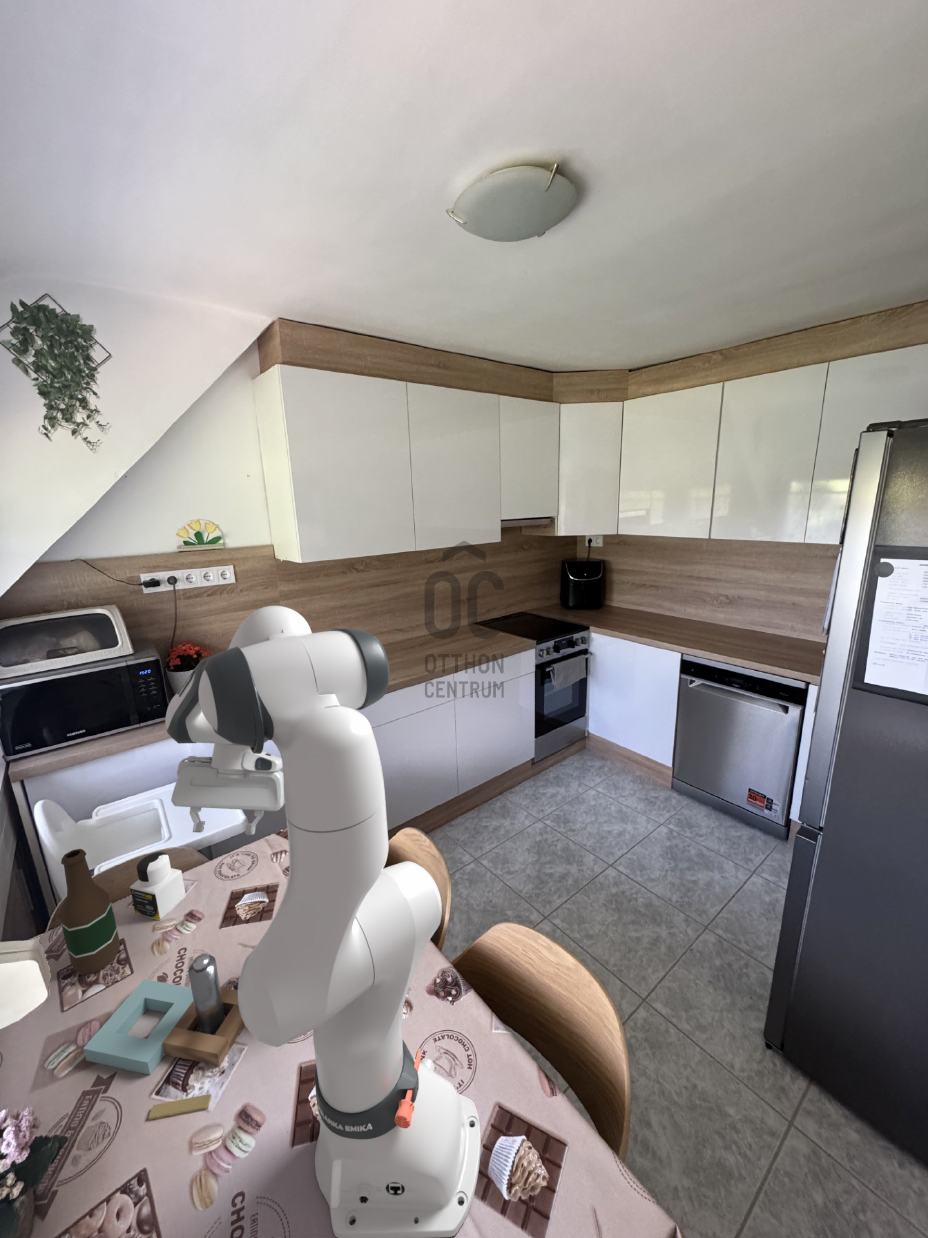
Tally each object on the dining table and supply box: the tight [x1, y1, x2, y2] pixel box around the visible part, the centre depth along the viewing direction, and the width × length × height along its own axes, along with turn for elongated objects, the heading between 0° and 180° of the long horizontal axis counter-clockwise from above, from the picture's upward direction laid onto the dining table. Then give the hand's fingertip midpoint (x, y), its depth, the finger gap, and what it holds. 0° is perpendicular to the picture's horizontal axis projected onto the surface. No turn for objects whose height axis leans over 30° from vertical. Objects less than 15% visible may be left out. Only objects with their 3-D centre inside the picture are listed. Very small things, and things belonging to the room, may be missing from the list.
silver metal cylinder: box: [187, 953, 226, 1035], centre depth 82 cm, size 4×4×14 cm
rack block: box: [83, 979, 194, 1076], centre depth 84 cm, size 12×12×2 cm
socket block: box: [163, 986, 245, 1067], centre depth 83 cm, size 10×10×2 cm
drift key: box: [148, 1093, 212, 1121], centre depth 73 cm, size 8×2×1 cm, turn 99°
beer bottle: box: [59, 848, 121, 977], centre depth 95 cm, size 8×8×24 cm
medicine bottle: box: [129, 851, 187, 921], centre depth 109 cm, size 7×7×12 cm
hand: (224, 833), depth 95 cm, fingers open, 8 cm apart
